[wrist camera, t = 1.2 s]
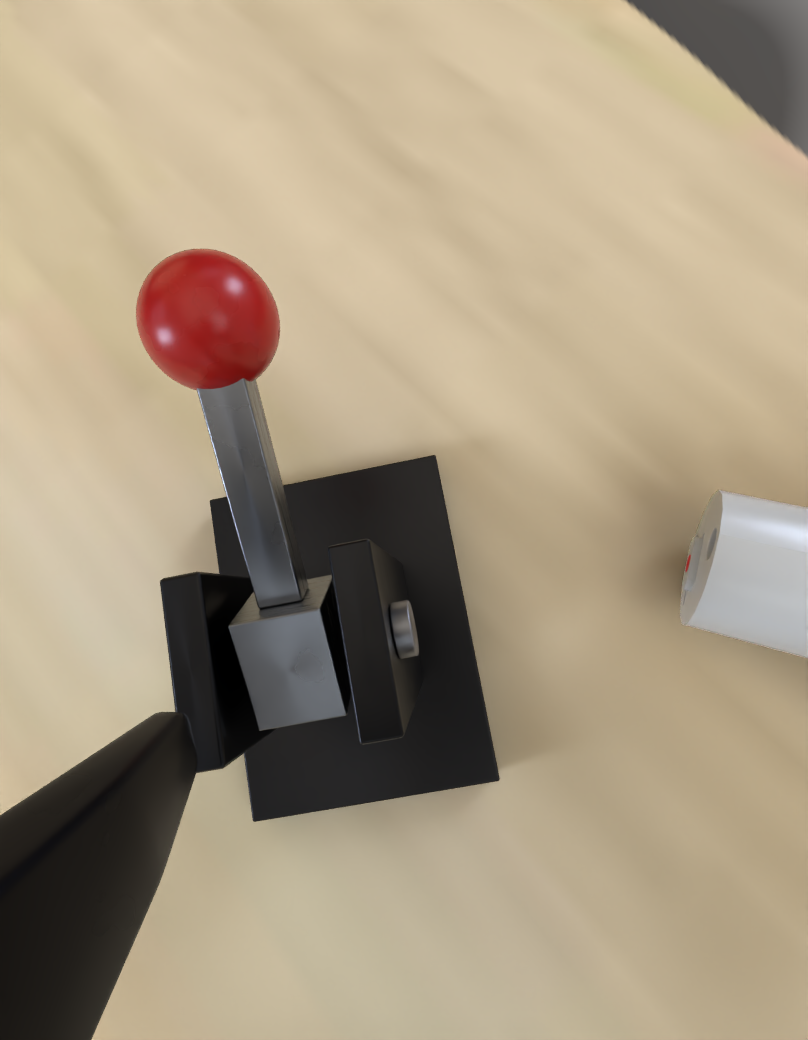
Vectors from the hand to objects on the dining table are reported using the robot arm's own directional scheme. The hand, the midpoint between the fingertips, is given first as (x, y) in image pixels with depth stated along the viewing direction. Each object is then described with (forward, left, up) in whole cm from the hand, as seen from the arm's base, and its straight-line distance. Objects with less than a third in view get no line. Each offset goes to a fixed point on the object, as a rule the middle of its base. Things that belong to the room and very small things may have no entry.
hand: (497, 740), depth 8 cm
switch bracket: (-1, +4, -14) cm, 15 cm away
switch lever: (+3, +7, -6) cm, 9 cm away
